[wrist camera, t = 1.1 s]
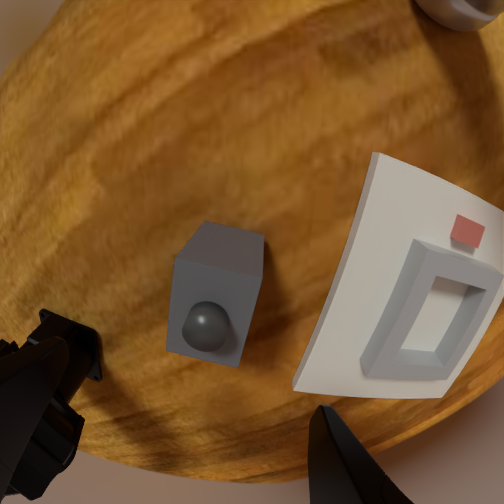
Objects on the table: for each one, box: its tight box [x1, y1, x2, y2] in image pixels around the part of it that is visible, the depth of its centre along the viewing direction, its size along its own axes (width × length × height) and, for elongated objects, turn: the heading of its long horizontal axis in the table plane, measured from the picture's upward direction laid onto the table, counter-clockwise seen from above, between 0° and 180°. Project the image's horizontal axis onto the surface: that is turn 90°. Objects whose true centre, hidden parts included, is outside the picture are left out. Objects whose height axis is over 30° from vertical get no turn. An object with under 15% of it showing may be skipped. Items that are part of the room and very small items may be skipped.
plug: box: [166, 221, 264, 368], centre depth 15 cm, size 5×4×8 cm
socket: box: [292, 152, 504, 399], centre depth 18 cm, size 18×16×3 cm
